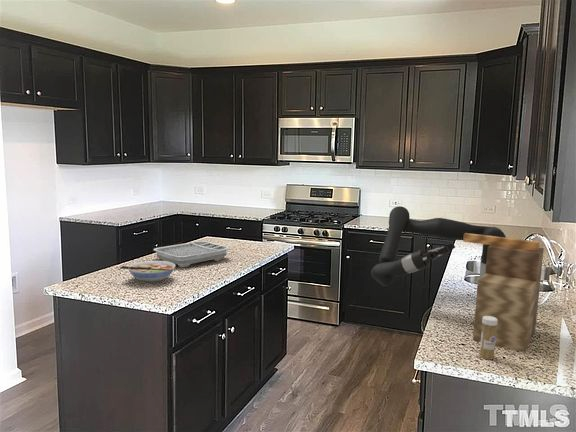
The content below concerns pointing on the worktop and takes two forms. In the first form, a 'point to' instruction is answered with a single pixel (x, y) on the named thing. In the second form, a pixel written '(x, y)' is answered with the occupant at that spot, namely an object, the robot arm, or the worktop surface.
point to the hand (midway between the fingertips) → (451, 247)
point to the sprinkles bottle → (488, 337)
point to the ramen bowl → (150, 270)
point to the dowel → (501, 241)
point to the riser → (509, 295)
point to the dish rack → (191, 252)
